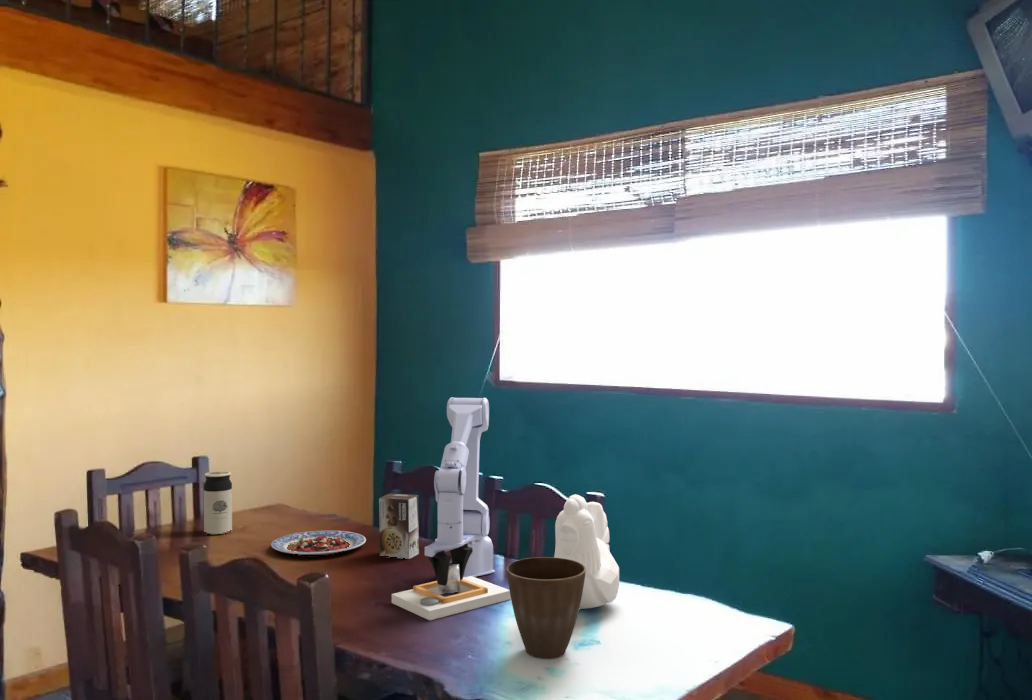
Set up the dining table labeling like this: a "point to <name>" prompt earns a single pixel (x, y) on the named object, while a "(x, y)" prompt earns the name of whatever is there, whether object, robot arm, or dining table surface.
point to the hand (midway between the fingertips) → (450, 581)
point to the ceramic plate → (319, 542)
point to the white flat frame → (450, 598)
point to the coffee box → (399, 525)
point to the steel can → (452, 579)
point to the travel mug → (217, 502)
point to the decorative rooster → (588, 549)
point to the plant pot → (546, 602)
